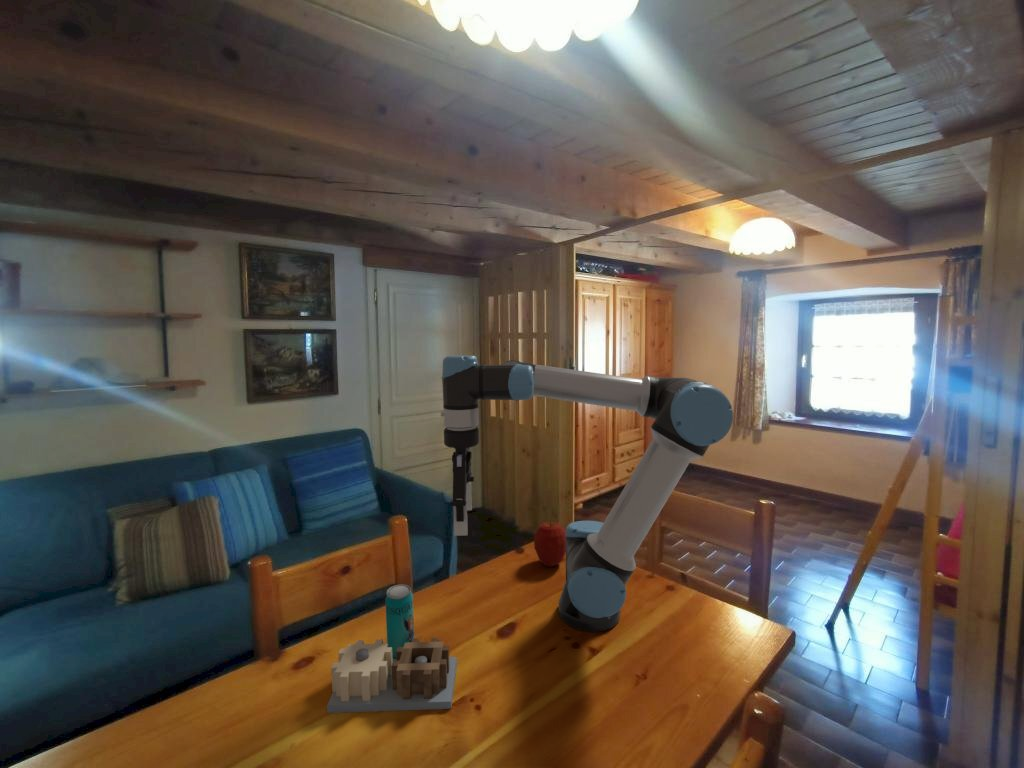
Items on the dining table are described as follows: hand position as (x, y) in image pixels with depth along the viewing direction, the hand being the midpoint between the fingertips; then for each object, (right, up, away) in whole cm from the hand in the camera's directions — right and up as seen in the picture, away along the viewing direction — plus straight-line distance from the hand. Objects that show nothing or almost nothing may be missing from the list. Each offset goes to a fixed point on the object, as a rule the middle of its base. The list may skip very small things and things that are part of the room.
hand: (463, 521), depth 102 cm
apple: (+23, -25, +39) cm, 51 cm away
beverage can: (-14, -29, -1) cm, 32 cm away
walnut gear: (-7, -29, -10) cm, 31 cm away
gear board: (-12, -30, -10) cm, 34 cm away
